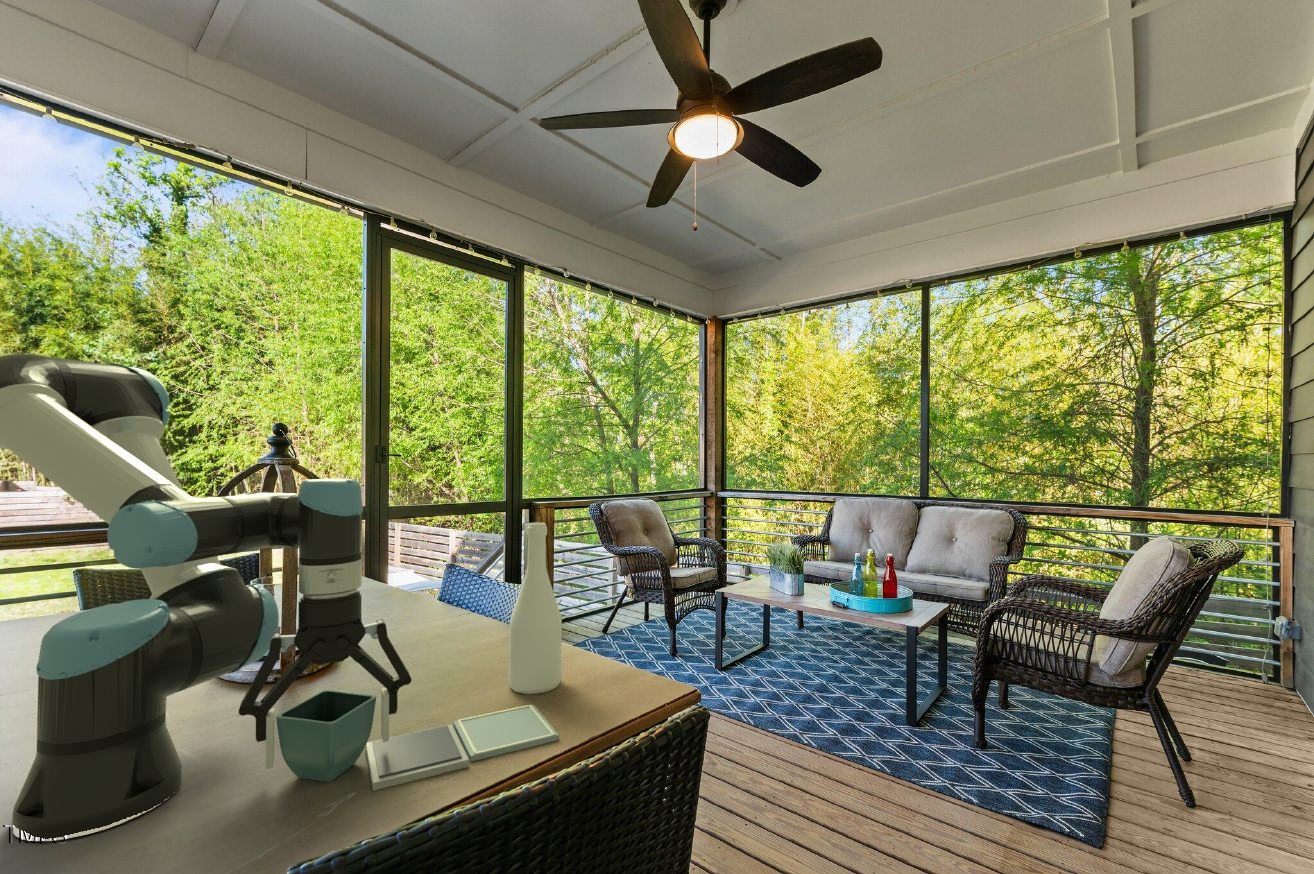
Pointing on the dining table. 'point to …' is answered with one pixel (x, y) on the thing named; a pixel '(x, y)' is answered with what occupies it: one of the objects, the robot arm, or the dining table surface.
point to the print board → (503, 732)
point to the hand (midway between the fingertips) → (329, 750)
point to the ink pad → (414, 756)
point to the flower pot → (325, 733)
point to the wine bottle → (535, 624)
